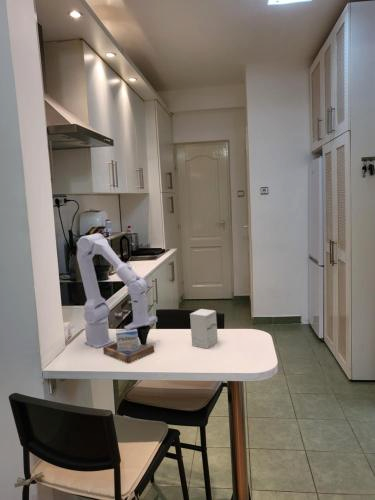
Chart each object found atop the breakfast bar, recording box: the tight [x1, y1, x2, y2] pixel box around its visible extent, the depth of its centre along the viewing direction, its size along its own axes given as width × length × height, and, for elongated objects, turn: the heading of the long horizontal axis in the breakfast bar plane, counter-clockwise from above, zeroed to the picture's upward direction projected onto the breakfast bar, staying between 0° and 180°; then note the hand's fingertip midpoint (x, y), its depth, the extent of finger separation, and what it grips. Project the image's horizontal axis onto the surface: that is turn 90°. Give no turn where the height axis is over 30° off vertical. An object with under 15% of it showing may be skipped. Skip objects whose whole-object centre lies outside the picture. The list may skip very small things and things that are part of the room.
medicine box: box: [115, 328, 140, 355], centre depth 153 cm, size 8×4×9 cm, turn 98°
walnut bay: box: [102, 341, 155, 364], centre depth 153 cm, size 15×12×2 cm
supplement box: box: [189, 308, 219, 349], centre depth 155 cm, size 7×7×13 cm
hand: (143, 344), depth 158 cm, fingers closed
